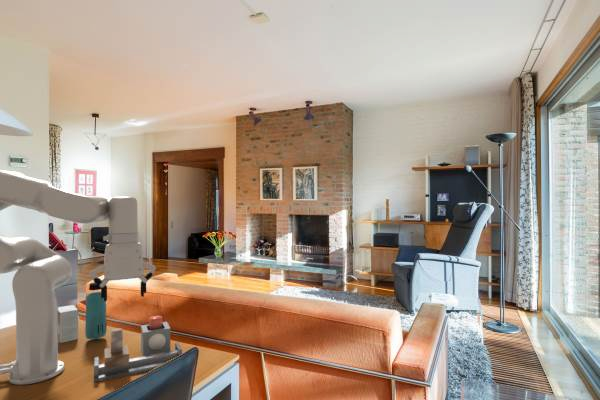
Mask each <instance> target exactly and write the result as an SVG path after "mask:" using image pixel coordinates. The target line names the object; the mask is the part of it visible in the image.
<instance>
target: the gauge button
mask: <svg viewBox="0 0 600 400" xmlns="http://www.w3.org/2000/svg"><path fill="white" fill-rule="evenodd" d="M162 322H163V316H162V315H152V316H150V317H148V325H149V329H158V328H161V327H162Z"/></svg>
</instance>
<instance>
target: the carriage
mask: <svg viewBox="0 0 600 400" xmlns="http://www.w3.org/2000/svg"><path fill="white" fill-rule="evenodd" d="M123 332H124V331H123V328H121V327H119V328H113V329H111V330H110V347H108V348H107V347H106V348H104V364H105V369H109V368H114V367H119V366H124V365H129V359H130V352H129V346H128V345H129V344H126V345H125V344H124V345H123V342H124V341H123V339H124V337H123V336H124V335H123V334H124V333H123Z"/></svg>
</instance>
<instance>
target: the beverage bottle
mask: <svg viewBox="0 0 600 400" xmlns="http://www.w3.org/2000/svg"><path fill="white" fill-rule="evenodd" d="M88 287H89V288H88V290H89V291H92V292H89V293H87V294H86V296H85V325H84V326H85V328H84V333H85V339H87V340H96V339H101V338H103V337H105V336H106V334H107V331H108V330H107V329H108V327H107V325H108V324H107V306H108V305H107V301H104V298H101V287H100V286H99V285H98V284H96V283H95V282H94V281H93V282H91V283H89V285H88ZM99 290H100V291H99Z"/></svg>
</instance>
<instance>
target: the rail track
mask: <svg viewBox="0 0 600 400" xmlns="http://www.w3.org/2000/svg"><path fill="white" fill-rule="evenodd" d="M181 354H182V355H183V349H182V347H181V345H180V342H175V343H174V350H170V351H168V352H163V353H158V354H153V355H148V356H142V355H141V356H137V357H133V358H129V365H124V366H119V367H114V368H109V369H105V363H101V364H99V363H100V359H99V356H96V357H94V363H93V364H94V365H93V369H94V371H93V373H94V374H93V375H94V376H93V383H98V382H97V381H99V382H102V381H101V380H104V381H107V380H106V379H109V380H111V379H110V378H113V379H118V378H121V377H127V376H131V375H136V374H140V373H141V374H142V373H145V372H151V371H153V370H152V369H154V368H156V367H158V366H160V365H162V364H164V363H166V362H167V361H169V360H171V359H173V358H175V357H177V356H179V355H181ZM117 377H118V378H117Z"/></svg>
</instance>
